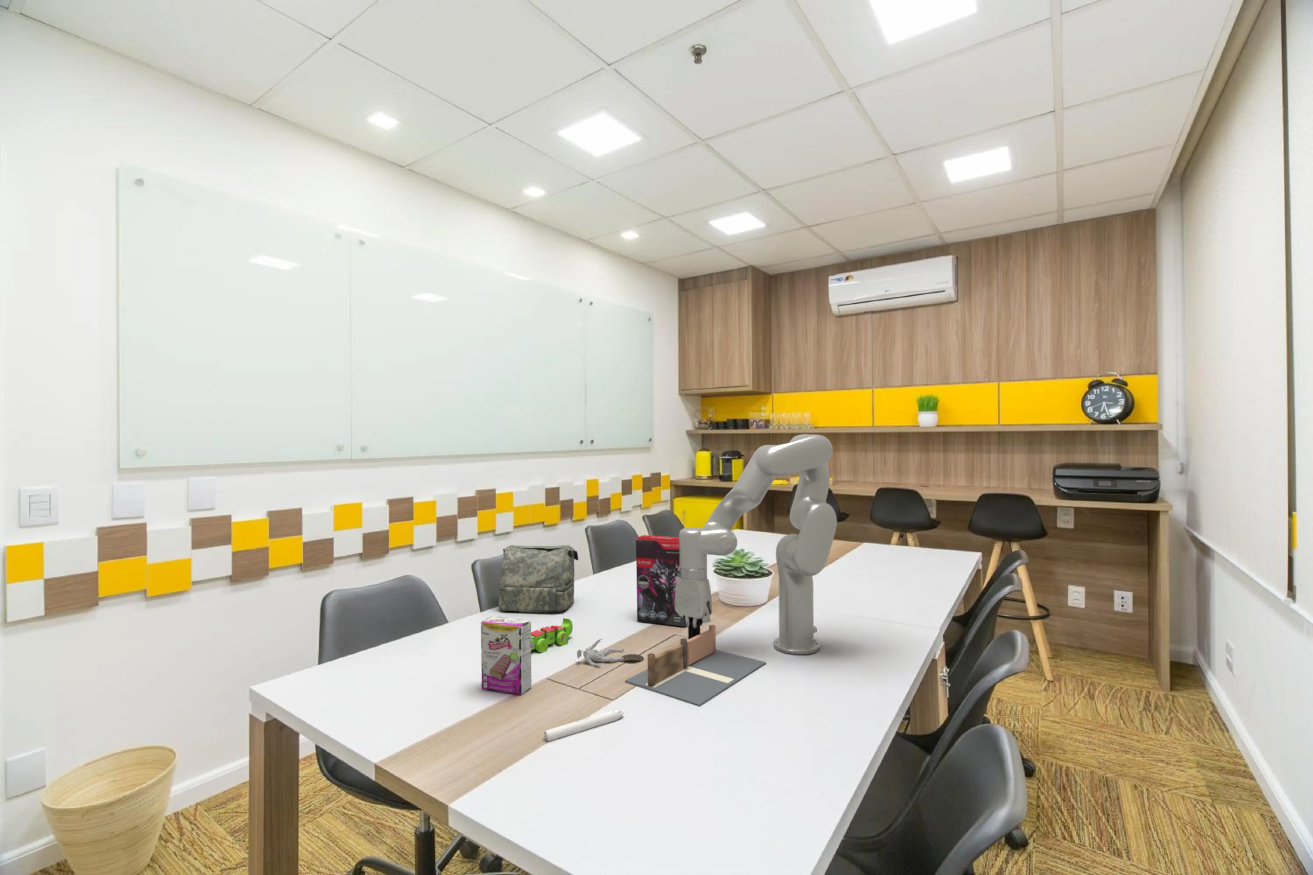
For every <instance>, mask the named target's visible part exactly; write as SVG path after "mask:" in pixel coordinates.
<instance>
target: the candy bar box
mask: <svg viewBox="0 0 1313 875" xmlns="http://www.w3.org/2000/svg"><path fill="white" fill-rule="evenodd" d="M531 632H532V621H531V620H526V619H517V618H509V617H501V616H490V617H487V618H486V619H483V620H481V622H480V637H481V638H480V642H481V644H480V648H481V649H480V650H481V653H480V654H481V660H480V661H481V690H485V689H486V691H492V692H499V693H504V692H505V693H504V694H510V693H511V695H517V696H523V695H525V693H526V692H528V690H530V689H531V688H532V650H531Z"/></svg>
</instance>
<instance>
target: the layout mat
mask: <svg viewBox="0 0 1313 875" xmlns="http://www.w3.org/2000/svg"><path fill="white" fill-rule="evenodd" d="M765 665H767V662H766V661H763V660H759V659H756V658H751V657H747V656H743V655H739V654H735V653H731V652H727V651H723V650H719V649H716V652H713V653H711V654H709V655H707V656H705V657H704V658H702V659H700V660H698V661H696V662H694V663H692V664H690V665H687V668H686V669H683V670H681V671H679V672H677V673H675V674H673V675H671V676H669V677H668V678H666V679H664V680H662V681H660V682H658V683H656V684H655V686H648V668H646V669H645V670H643V671H641V672H638V673H637V674H634V675H633V676H631V677H629V678H627V679H624V683H627V684H629V685H633V686H636V687H639V688H642V689H646V690H648V691H651V692H655V693H658V694H661V695H663V696H667V697H670V698H673V699H675V700H678V701H681V702H684V703H687V704H690V705H694V706H697V707H701V706H703V705H704V704H706V703H707V702H708V701H710V700H712V699H713V698H715V697H717V696H719V694H721V693H723V692H724V691H726V690H727V689H729V688H730V687H732V686H734V685H735V684H736V683H739V682H740V681H742V680H743V679H745V678H746V677H747V676H750V675H751V674H752V673H754V672H756V671H757V670H758V669H760V668H762V667H764V666H765Z"/></svg>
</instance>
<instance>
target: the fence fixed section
mask: <svg viewBox="0 0 1313 875" xmlns="http://www.w3.org/2000/svg"><path fill="white" fill-rule="evenodd" d="M687 640H688V638H680V644H678V645H675V646H673V647H671V648H669V649H666V650H665V651H663V652H660V653H658V654H655V653H653V652H652V653H650V652H649V653H648V654H647V669H648V686H655V684H656V683H658V682H660V681H662V680H664V679H666V678H668V677H669V676H671V675H673V674H675V673H677V672H679V671H681V670H683V669H686V668H687Z"/></svg>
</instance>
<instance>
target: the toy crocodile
mask: <svg viewBox="0 0 1313 875" xmlns="http://www.w3.org/2000/svg"><path fill="white" fill-rule="evenodd" d="M573 626H574V625H573V621H572V620H571V619H570V618H565V617H563V618H562V623H561V624H560V625H554V624H552V625H550V626H544V627H541V628H540V630H539V629H535V630H533V631H531V651H532V650H536V651H537V652H539V653H541V652H542V653H545V652H547V650H548V647H549V645H550V644H555V642H556V644H557V645H558V646H563V647H564V646H565V645H567V644H568V642H569V640H570V635H571V634H572V633H573V630H574V628H573Z"/></svg>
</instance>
